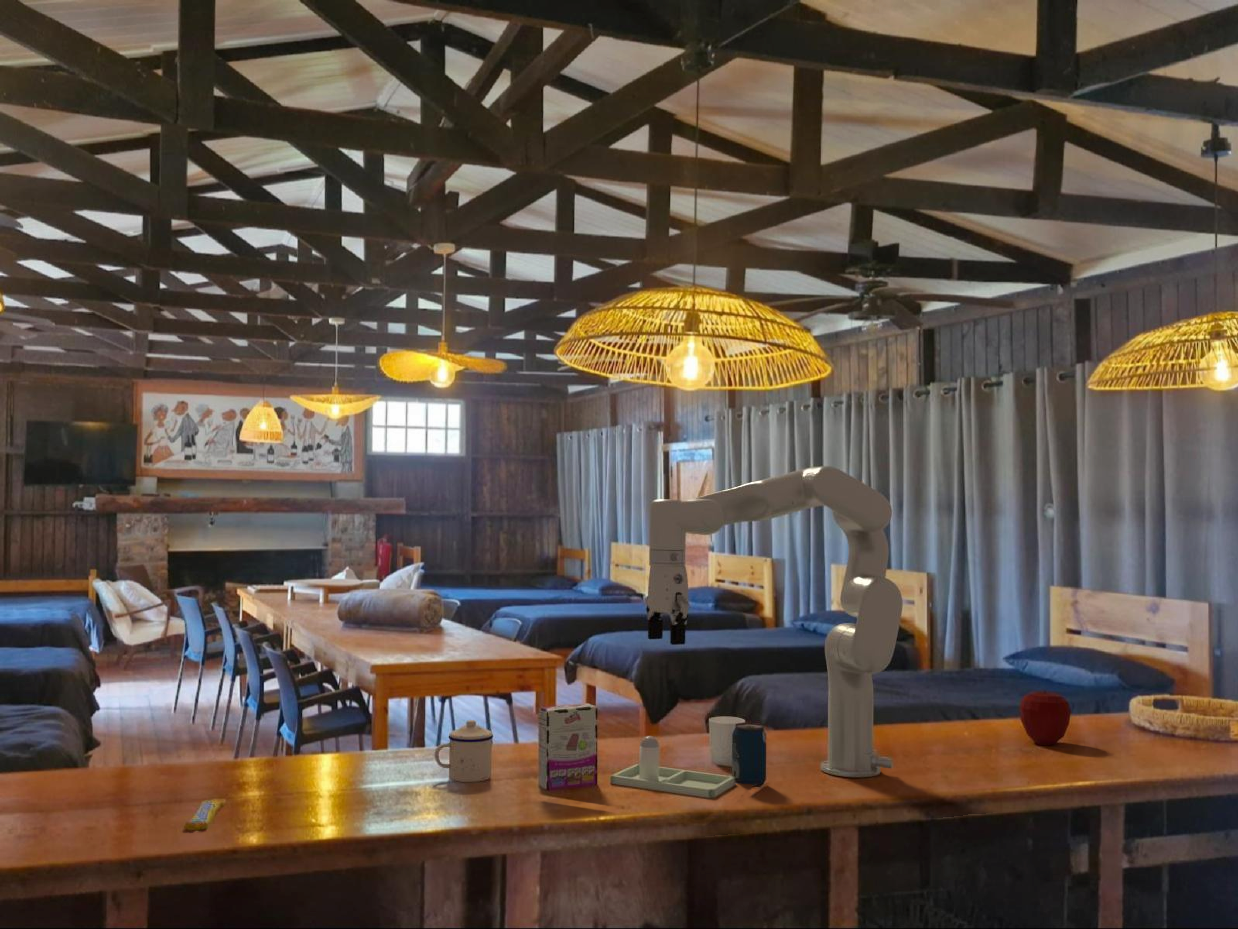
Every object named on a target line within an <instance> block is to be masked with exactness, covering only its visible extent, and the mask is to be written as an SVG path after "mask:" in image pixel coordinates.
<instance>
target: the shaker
mask: <svg viewBox="0 0 1238 929" xmlns="http://www.w3.org/2000/svg"><path fill="white" fill-rule="evenodd" d="M638 755H639V757H638V759H639V761H638V762H639V763H638V764H639V779H645V780H652V781H659V767H660V745H659V741H658V740H657V738H656V737H654V736H652V735H646V736H645V737H643V738H642V739H641V740H640V743H639V754H638Z"/></svg>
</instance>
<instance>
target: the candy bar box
mask: <svg viewBox="0 0 1238 929" xmlns="http://www.w3.org/2000/svg"><path fill="white" fill-rule="evenodd" d="M596 785H597V786H598V706H597V705H593V704H592V703H589V702H587V703H586V702H585V703H574V704H564V705H563V704H562V705H553V706H544V707H543V706H542V707H538V786H539V787H540V788H543V789H544V790H546V791H552V790H553V791H554V790H555V791H556V790H563V789H564V790H565V789H572V788H580V787H589V786H596Z"/></svg>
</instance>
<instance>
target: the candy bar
mask: <svg viewBox="0 0 1238 929" xmlns="http://www.w3.org/2000/svg"><path fill="white" fill-rule="evenodd" d="M225 803H226V799H224V798H212V799H205V800H204V799H203V800H201V804H200V806H199V807H198V809H197V811H196V812H195V813H194V815H193V816H192V818H191V819H190V821H185V823H184V827H183V829H184V830H185V831H188V832H190V831H201V830H202V831H203V830H207V829H208V827H210V824H211V823H212V821H213V820H214V819H215V817H216V815H217V814H218V812H220V809H221V808H222V805H224V804H225Z"/></svg>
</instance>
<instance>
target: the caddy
mask: <svg viewBox="0 0 1238 929" xmlns="http://www.w3.org/2000/svg"><path fill="white" fill-rule="evenodd" d="M609 781H610V782H609V783H610V784H611V785H616V786H623V787H624V786H625V787H631V788H636V789H637V788H638V789H644V790H652V791H658V792H659V791H660V792H665V793H670V794H671V793H672V794H680V795H686V796H692V797H693V796H694V797H699V798H707V799H714V798H716V797H717V796H719V795H721V794H722V793H724V792H726V791H728V790H729V789H731V788H732V787H734V786H735V785H736V782H735V777H733V776H732V775H723V774H716V773H709V772H702V771H693V770H688V769H687V770H686V769H679V768H671V767H665V766H659V781H652V780H645V779H639V763H635V764H633V765H631V766H629V767H627V768H625V769H622V770H620V771H618V772H615V773H613V774H611V775H610V778H609Z"/></svg>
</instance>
